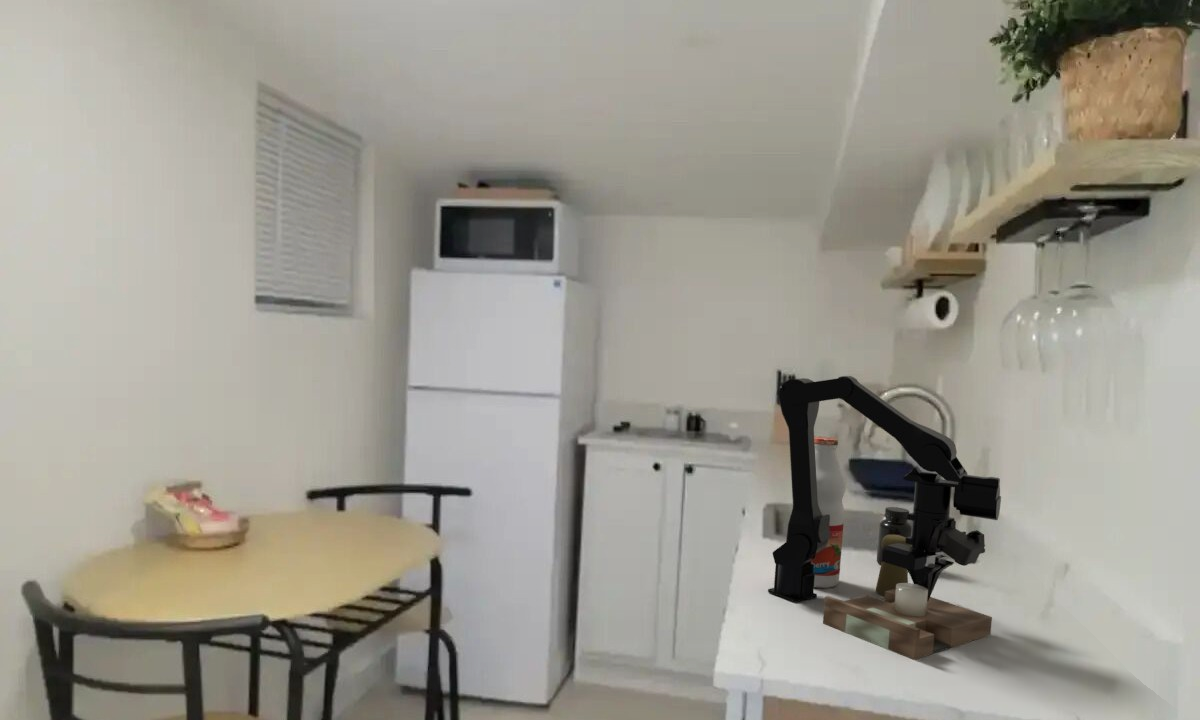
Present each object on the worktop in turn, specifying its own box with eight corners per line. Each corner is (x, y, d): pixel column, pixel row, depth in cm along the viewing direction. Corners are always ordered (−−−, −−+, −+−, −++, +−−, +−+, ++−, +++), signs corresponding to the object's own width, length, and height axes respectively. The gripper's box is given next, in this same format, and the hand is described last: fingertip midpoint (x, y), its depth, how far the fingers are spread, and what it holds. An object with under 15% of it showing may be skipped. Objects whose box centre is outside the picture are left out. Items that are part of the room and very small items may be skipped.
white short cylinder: (888, 609, 143) (889, 585, 143) (905, 604, 146) (907, 581, 146) (914, 618, 139) (916, 594, 139) (932, 613, 143) (934, 589, 142)
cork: (911, 600, 159) (916, 541, 158) (877, 596, 160) (881, 537, 160) (906, 590, 165) (911, 534, 164) (873, 586, 166) (878, 530, 166)
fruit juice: (835, 576, 171) (846, 436, 170) (841, 591, 162) (853, 443, 161) (787, 571, 173) (797, 432, 171) (790, 585, 163) (802, 439, 162)
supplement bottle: (872, 559, 186) (876, 504, 186) (904, 561, 186) (908, 506, 186) (881, 568, 180) (886, 511, 179) (914, 570, 179) (919, 514, 179)
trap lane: (822, 623, 143) (824, 596, 143) (900, 603, 157) (902, 579, 156) (913, 659, 130) (916, 630, 129) (990, 634, 143) (992, 608, 143)
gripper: (945, 526, 133) (937, 626, 134) (1006, 515, 144) (998, 606, 145) (882, 511, 142) (875, 604, 142) (944, 501, 153) (937, 588, 154)
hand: (924, 601), depth 146 cm, fingers closed
